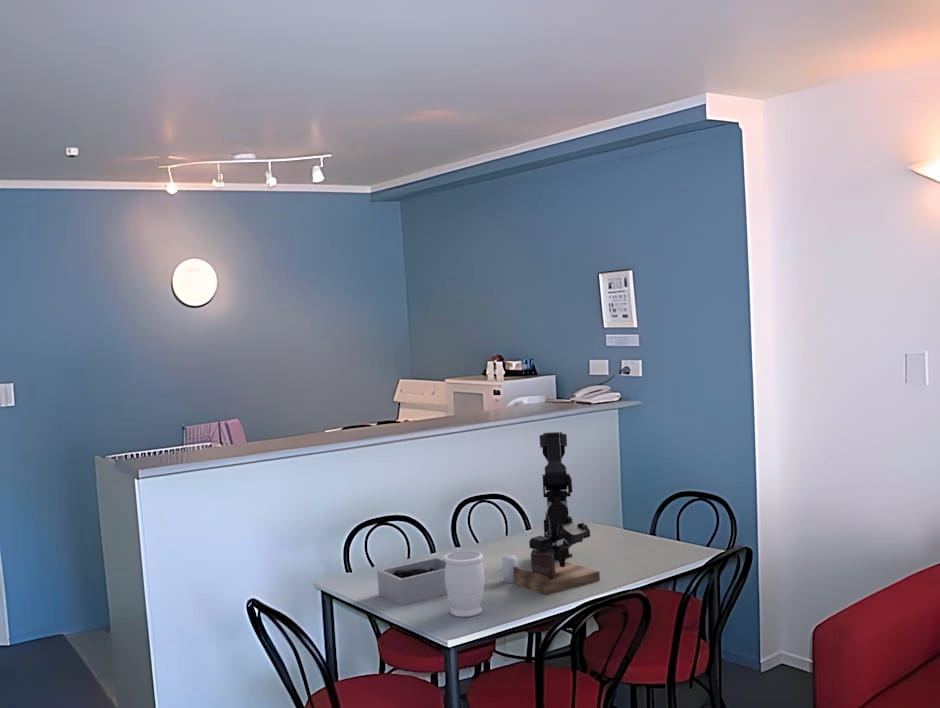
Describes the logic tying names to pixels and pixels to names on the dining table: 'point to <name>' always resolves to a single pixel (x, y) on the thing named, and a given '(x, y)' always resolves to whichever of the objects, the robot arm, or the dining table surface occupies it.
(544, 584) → the striped wooden slab
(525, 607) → the dining table surface
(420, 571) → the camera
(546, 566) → the box
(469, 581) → the jar
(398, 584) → the box
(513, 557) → the white block
